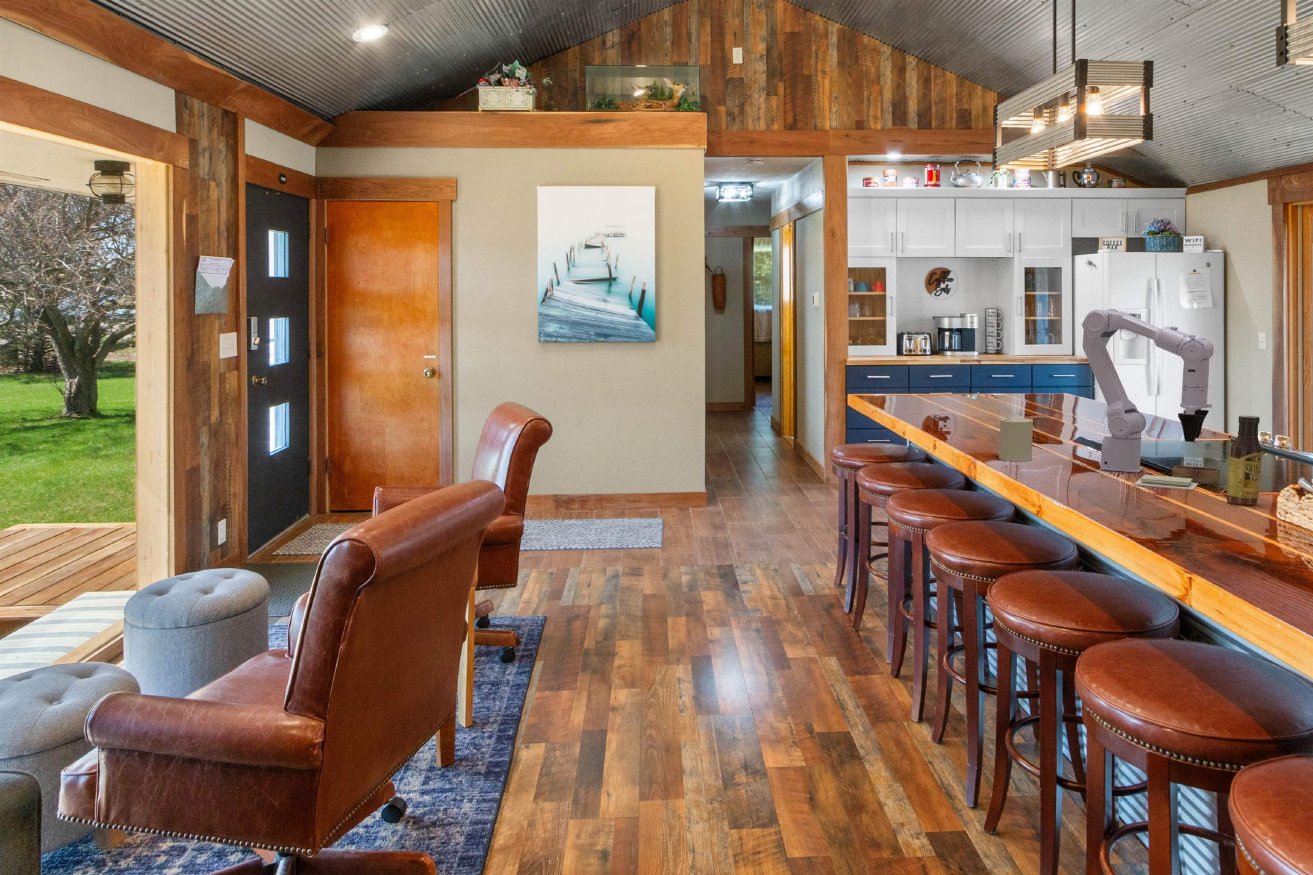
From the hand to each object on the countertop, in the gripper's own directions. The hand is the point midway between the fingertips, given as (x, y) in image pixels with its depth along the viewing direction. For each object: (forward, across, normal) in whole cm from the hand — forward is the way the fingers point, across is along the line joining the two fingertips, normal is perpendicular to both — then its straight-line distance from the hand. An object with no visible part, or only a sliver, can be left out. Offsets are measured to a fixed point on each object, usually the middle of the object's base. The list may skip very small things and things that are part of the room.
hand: (1191, 439), depth 245 cm
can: (+10, +8, +46) cm, 48 cm away
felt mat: (+10, -14, +4) cm, 17 cm away
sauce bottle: (+10, -28, -14) cm, 33 cm away
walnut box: (+10, -6, -2) cm, 12 cm away
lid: (+9, -14, +3) cm, 17 cm away
